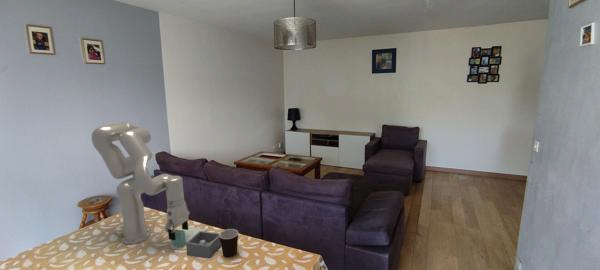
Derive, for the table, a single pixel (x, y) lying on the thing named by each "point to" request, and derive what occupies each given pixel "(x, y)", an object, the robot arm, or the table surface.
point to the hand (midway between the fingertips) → (179, 234)
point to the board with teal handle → (185, 235)
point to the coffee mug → (229, 242)
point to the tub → (203, 244)
